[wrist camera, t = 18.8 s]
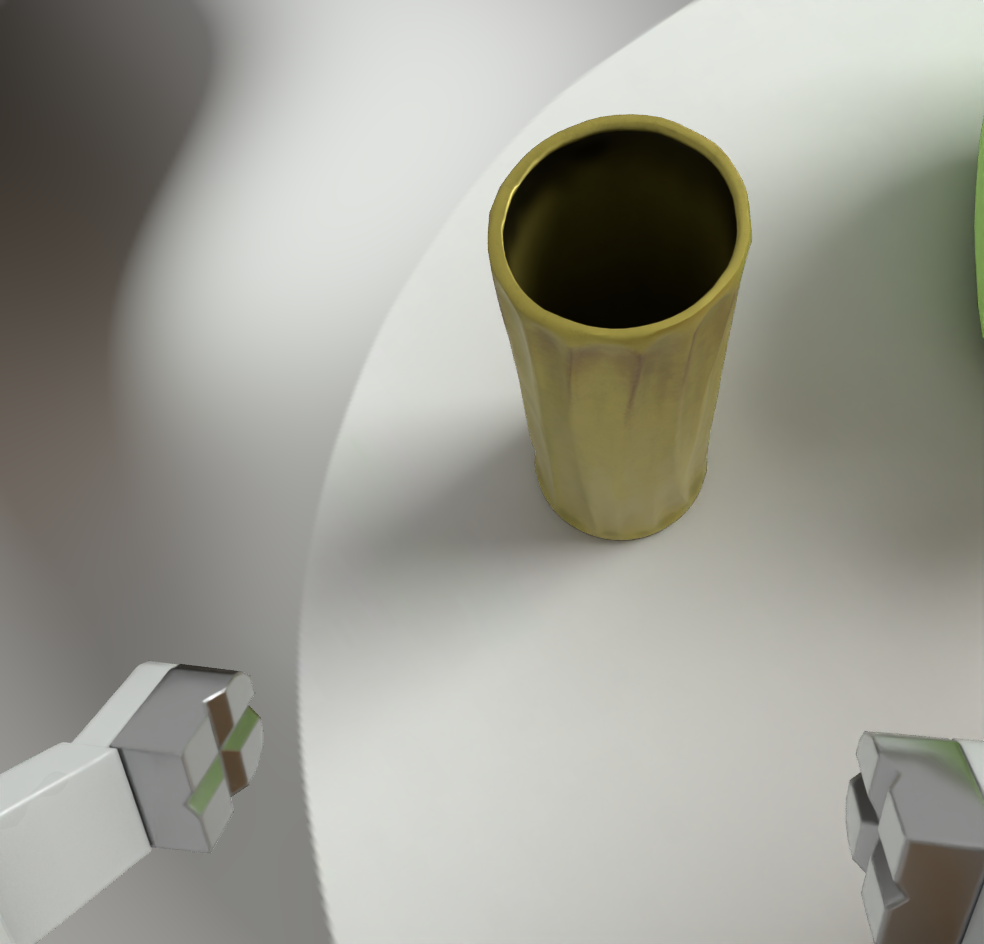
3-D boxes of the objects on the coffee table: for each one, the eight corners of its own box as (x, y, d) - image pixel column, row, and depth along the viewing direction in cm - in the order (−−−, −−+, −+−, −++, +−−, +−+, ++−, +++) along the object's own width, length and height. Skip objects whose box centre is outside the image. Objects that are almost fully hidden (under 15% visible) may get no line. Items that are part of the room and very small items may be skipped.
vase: (666, 360, 30) (701, 53, 16) (734, 506, 28) (838, 292, 14) (513, 416, 30) (426, 160, 17) (569, 566, 28) (520, 409, 15)
